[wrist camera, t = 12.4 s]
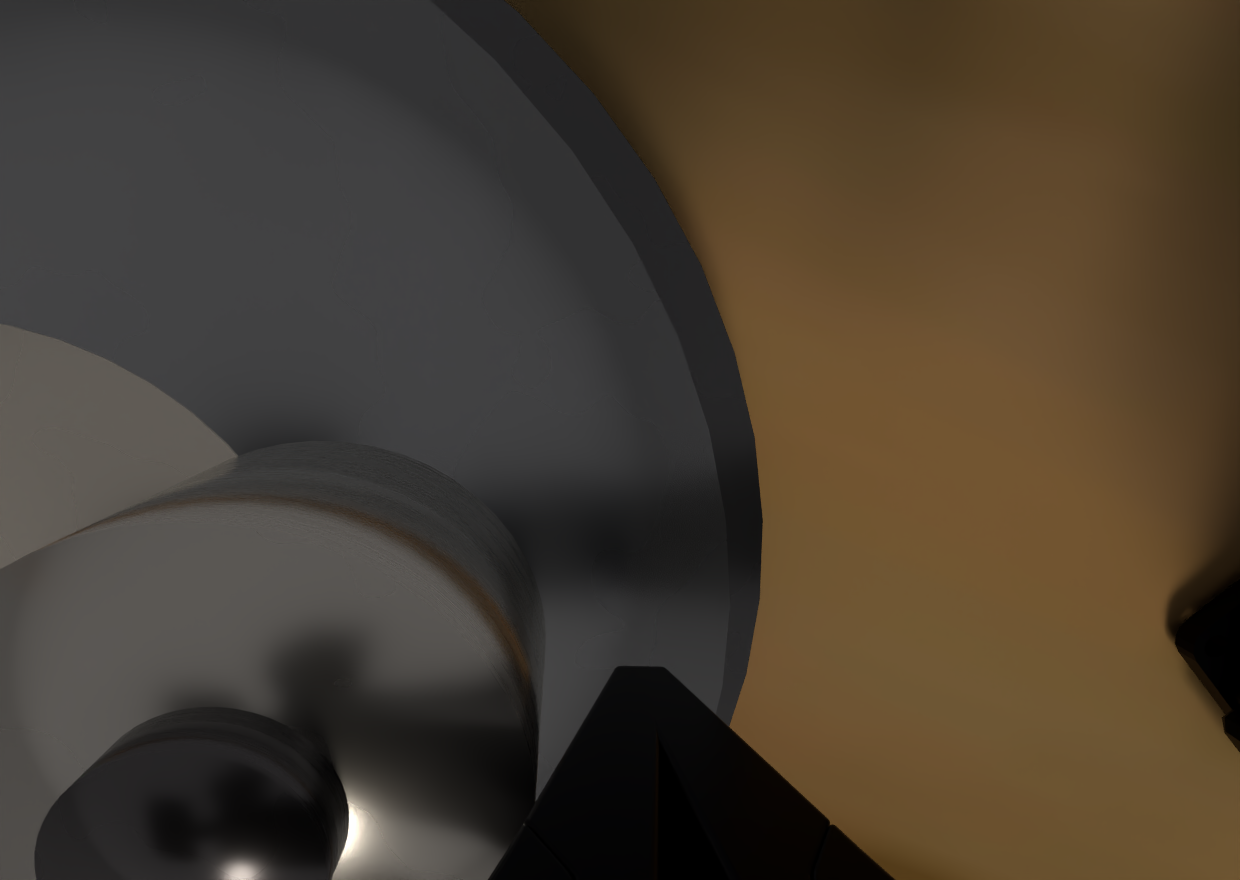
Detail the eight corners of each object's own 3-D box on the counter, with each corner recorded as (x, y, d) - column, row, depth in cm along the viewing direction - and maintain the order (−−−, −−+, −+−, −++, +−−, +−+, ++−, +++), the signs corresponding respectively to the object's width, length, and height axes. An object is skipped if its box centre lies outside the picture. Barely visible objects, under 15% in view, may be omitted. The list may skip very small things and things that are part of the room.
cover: (78, 447, 8) (-312, 566, 5) (537, 433, 9) (513, 532, 5) (157, 830, 10) (-99, 1161, 6) (553, 801, 10) (544, 1093, 6)
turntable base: (-20, -632, 8) (-102, -759, 7) (975, 580, 13) (1008, 603, 12) (-940, 541, 10) (-1098, 566, 9) (203, 1204, 15) (177, 1267, 14)
